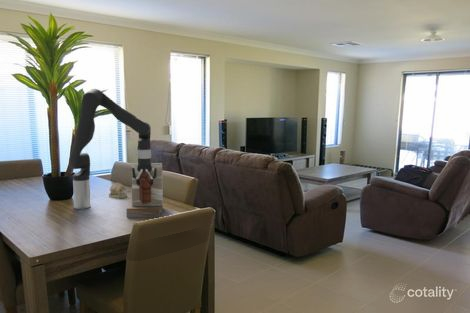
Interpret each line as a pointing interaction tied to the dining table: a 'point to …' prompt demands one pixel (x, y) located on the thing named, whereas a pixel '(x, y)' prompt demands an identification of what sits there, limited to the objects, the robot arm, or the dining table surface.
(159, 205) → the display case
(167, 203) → the dining table surface
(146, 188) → the wooden figurine
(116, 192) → the ceramic model
